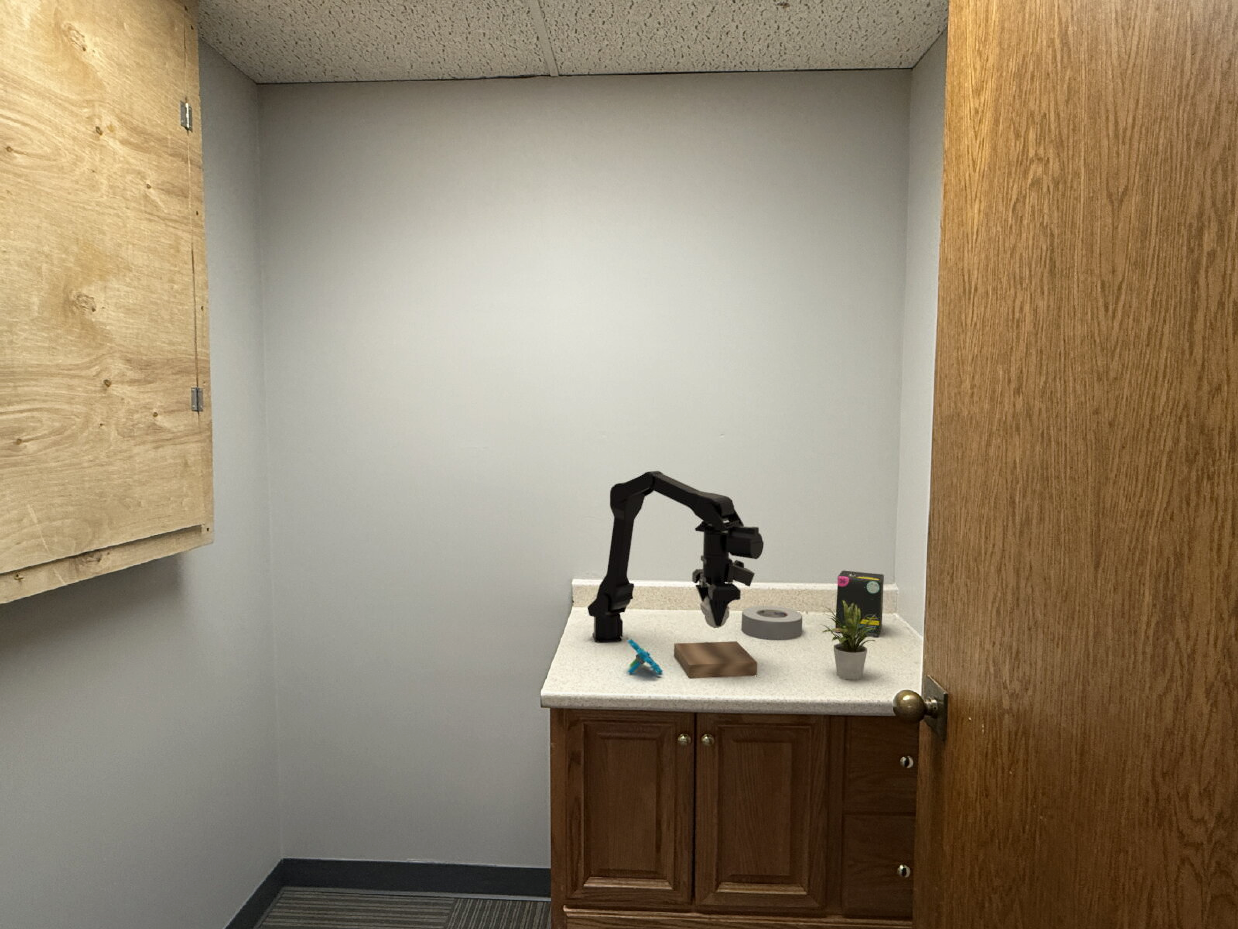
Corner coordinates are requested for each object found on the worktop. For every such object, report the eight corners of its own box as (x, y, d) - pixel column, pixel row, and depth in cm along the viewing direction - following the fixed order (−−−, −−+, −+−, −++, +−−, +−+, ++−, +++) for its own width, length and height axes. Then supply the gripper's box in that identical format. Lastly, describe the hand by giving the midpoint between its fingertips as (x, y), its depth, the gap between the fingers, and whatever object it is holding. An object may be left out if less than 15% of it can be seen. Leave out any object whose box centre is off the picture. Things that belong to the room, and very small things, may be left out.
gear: (667, 674, 169) (634, 640, 169) (647, 694, 168) (614, 660, 168) (662, 664, 180) (630, 632, 180) (643, 683, 179) (612, 651, 179)
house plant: (804, 663, 181) (806, 592, 180) (864, 663, 182) (866, 592, 181) (823, 686, 167) (826, 609, 166) (888, 685, 168) (891, 608, 167)
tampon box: (834, 632, 206) (836, 576, 205) (839, 623, 214) (841, 569, 213) (879, 638, 202) (881, 581, 201) (882, 628, 210) (884, 573, 209)
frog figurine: (694, 624, 181) (695, 594, 180) (723, 622, 183) (723, 592, 182) (705, 632, 175) (706, 601, 174) (734, 630, 177) (735, 599, 176)
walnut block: (689, 680, 171) (689, 664, 171) (673, 658, 186) (674, 643, 186) (756, 677, 173) (757, 662, 173) (736, 655, 188) (736, 641, 188)
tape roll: (810, 630, 209) (810, 611, 208) (789, 645, 196) (789, 624, 196) (755, 621, 217) (755, 602, 217) (731, 634, 204) (732, 615, 204)
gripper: (764, 561, 169) (762, 633, 171) (738, 544, 188) (736, 609, 189) (713, 561, 168) (712, 634, 169) (692, 545, 186) (690, 611, 187)
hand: (714, 621), depth 179 cm, fingers closed on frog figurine, 6 cm apart
